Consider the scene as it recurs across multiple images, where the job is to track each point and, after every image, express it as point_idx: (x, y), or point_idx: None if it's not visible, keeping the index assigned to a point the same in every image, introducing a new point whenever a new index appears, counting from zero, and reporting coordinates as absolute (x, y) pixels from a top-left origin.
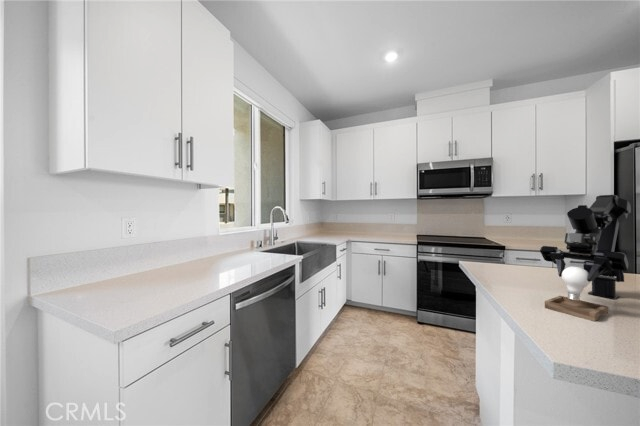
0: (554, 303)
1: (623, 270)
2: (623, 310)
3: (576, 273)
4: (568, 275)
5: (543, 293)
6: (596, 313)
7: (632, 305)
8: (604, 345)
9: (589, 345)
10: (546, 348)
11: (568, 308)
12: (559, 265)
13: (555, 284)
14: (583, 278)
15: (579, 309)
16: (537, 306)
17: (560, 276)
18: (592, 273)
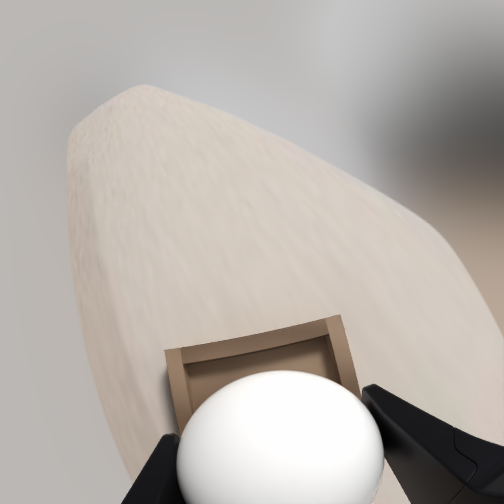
0: (303, 324)
1: None
2: None
3: (228, 396)
4: (284, 370)
5: None
6: (169, 372)
7: None
8: (103, 187)
9: (119, 159)
10: (158, 93)
11: (251, 336)
12: (435, 439)
13: None
14: (192, 415)
15: (214, 347)
16: (353, 309)
17: (362, 398)
18: (142, 481)
